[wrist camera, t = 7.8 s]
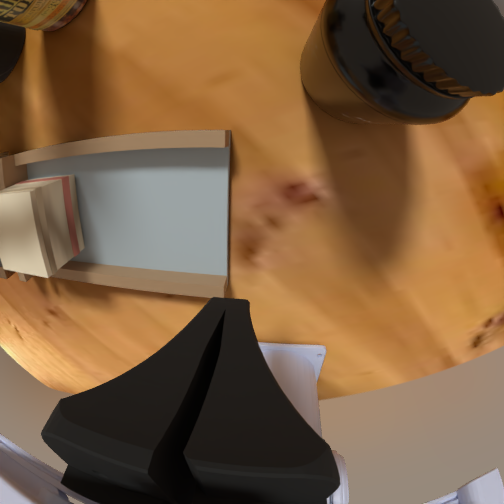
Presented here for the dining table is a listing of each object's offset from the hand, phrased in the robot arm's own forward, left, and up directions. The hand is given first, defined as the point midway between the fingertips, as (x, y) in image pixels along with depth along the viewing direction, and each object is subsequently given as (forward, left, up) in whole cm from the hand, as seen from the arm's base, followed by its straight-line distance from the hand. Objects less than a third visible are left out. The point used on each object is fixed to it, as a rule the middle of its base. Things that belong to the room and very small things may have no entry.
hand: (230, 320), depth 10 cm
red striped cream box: (+1, +16, -9) cm, 19 cm away
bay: (+1, +11, -10) cm, 15 cm away
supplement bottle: (+11, -6, -10) cm, 16 cm away
